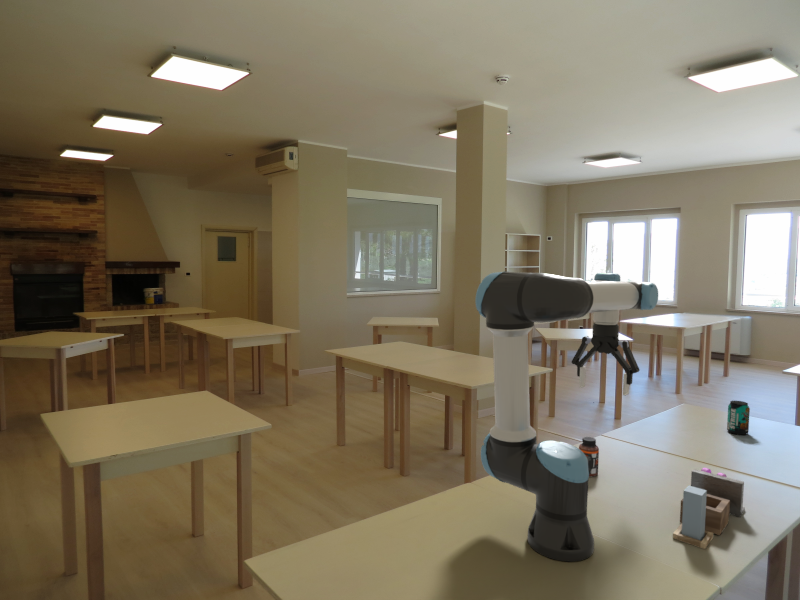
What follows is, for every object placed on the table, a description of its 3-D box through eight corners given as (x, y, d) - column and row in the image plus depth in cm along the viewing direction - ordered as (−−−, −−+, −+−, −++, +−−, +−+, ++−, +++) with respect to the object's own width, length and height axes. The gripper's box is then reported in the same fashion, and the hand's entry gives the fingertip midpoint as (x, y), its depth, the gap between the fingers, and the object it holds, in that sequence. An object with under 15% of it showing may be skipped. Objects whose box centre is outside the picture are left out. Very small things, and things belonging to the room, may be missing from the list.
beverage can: (752, 435, 200) (754, 405, 199) (734, 435, 200) (735, 405, 199) (740, 429, 207) (742, 400, 206) (722, 429, 207) (724, 400, 206)
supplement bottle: (599, 478, 161) (600, 442, 160) (579, 476, 163) (580, 441, 162) (596, 470, 167) (597, 436, 166) (576, 469, 168) (577, 434, 167)
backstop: (740, 517, 137) (742, 484, 136) (690, 502, 145) (691, 471, 145) (744, 510, 141) (746, 478, 140) (695, 496, 149) (696, 465, 148)
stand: (705, 549, 122) (705, 544, 122) (672, 538, 127) (673, 533, 127) (713, 537, 127) (713, 533, 127) (681, 527, 132) (681, 522, 132)
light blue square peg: (699, 544, 124) (702, 495, 123) (681, 538, 127) (683, 490, 126) (704, 537, 127) (706, 490, 126) (686, 531, 130) (688, 485, 129)
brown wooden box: (719, 535, 128) (721, 512, 127) (679, 522, 134) (680, 500, 134) (728, 522, 134) (729, 500, 134) (690, 510, 140) (691, 489, 140)
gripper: (652, 325, 155) (649, 395, 157) (572, 318, 172) (570, 382, 174) (644, 327, 150) (641, 400, 151) (562, 320, 167) (560, 386, 168)
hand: (603, 390), depth 163 cm, fingers open, 13 cm apart
